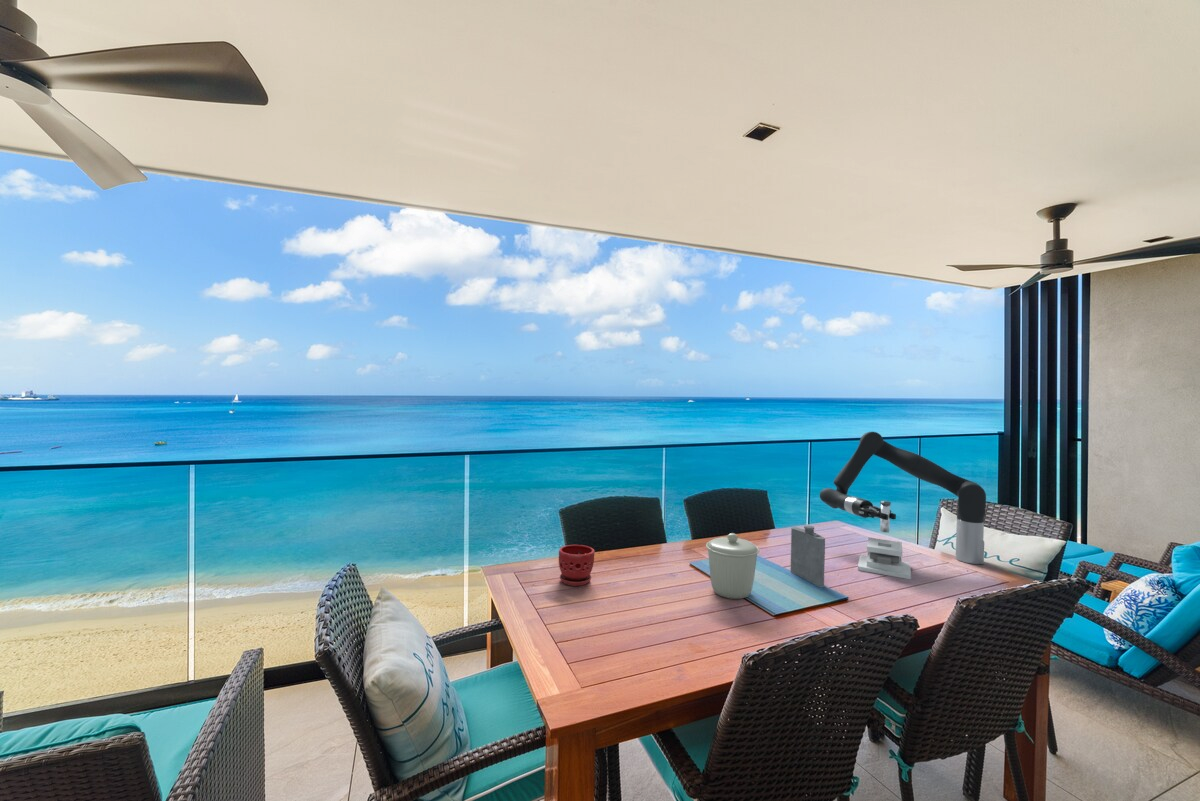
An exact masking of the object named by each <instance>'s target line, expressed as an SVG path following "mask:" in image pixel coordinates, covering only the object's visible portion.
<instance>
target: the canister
mask: <svg viewBox="0 0 1200 801" xmlns="http://www.w3.org/2000/svg"><path fill="white" fill-rule="evenodd" d="M705 546H706V549H707V554H708V564H709V567H708V568H709V576H710V584H711V588H712V589H713V591H714V593H716V594H717V595H718V596H721V597H723V598H727V599H731V600H733V599H734V600H738V599H739V600H742V599H745V598H747V597H749V595H751V593H752V591H753V585H754V580H755V574H756V567H757V561H758V560H757V558H758V554H759V553H760V547H758V545H756V544H754V543H753V542H751V541H749V540H747V539H744V538H739V537H738V535H737V534H736V533H734V532H731V533H729V534H727V536H724V537H723V536H721V537H716V538H713V539H711V540H709V541H707V542H706V543H705Z"/></svg>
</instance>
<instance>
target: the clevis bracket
mask: <svg viewBox="0 0 1200 801" xmlns="http://www.w3.org/2000/svg"><path fill="white" fill-rule="evenodd" d="M902 544H903V543H902V541H896V540H891V539H882V538H874V537H868V539H867V546H866V552H867V555H863V554H860V555H859V559H858V562H857V563H858V565H857V571H861V572H867V573H873V574H877V575H883V576H884V575H885V576H889V577H895V578H901V579H905V580H906V579H907V580H912V571H911V569H912V568H911V564H910V562H907V561H903V560H902V558H903V545H902Z"/></svg>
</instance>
